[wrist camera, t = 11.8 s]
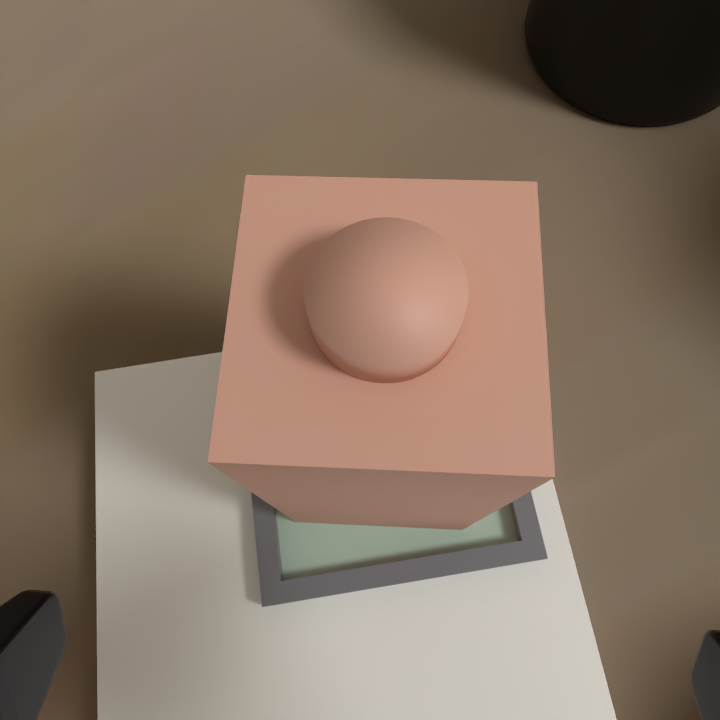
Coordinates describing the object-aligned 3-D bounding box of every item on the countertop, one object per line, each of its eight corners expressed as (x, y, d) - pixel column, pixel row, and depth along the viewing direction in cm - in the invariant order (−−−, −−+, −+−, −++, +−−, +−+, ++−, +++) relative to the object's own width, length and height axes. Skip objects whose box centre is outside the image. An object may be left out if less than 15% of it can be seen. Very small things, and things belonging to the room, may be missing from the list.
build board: (692, 1057, 15) (732, 1119, 13) (123, 1167, 14) (89, 1246, 13) (499, 318, 22) (509, 296, 20) (109, 380, 21) (86, 363, 20)
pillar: (462, 529, 18) (572, 468, 8) (295, 521, 18) (191, 451, 8) (460, 371, 20) (549, 150, 10) (308, 365, 20) (235, 144, 10)
